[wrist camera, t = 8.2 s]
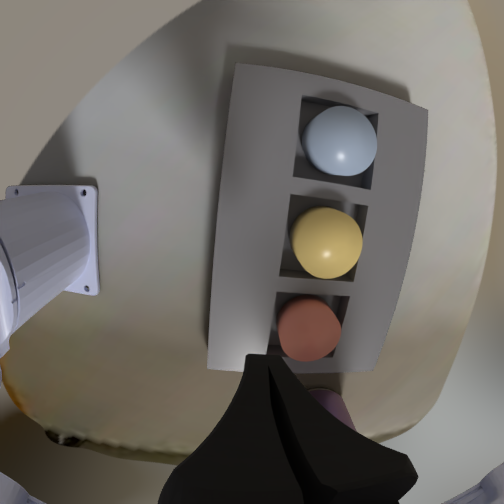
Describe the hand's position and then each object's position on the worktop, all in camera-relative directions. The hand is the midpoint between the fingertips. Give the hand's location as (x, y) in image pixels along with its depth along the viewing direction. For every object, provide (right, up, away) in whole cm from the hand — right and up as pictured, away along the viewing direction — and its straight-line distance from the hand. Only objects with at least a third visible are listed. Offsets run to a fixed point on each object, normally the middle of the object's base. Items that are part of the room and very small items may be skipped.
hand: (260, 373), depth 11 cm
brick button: (+3, 0, +9) cm, 10 cm away
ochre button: (+4, +6, +7) cm, 10 cm away
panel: (+4, +6, +8) cm, 11 cm away
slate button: (+5, +12, +6) cm, 14 cm away
